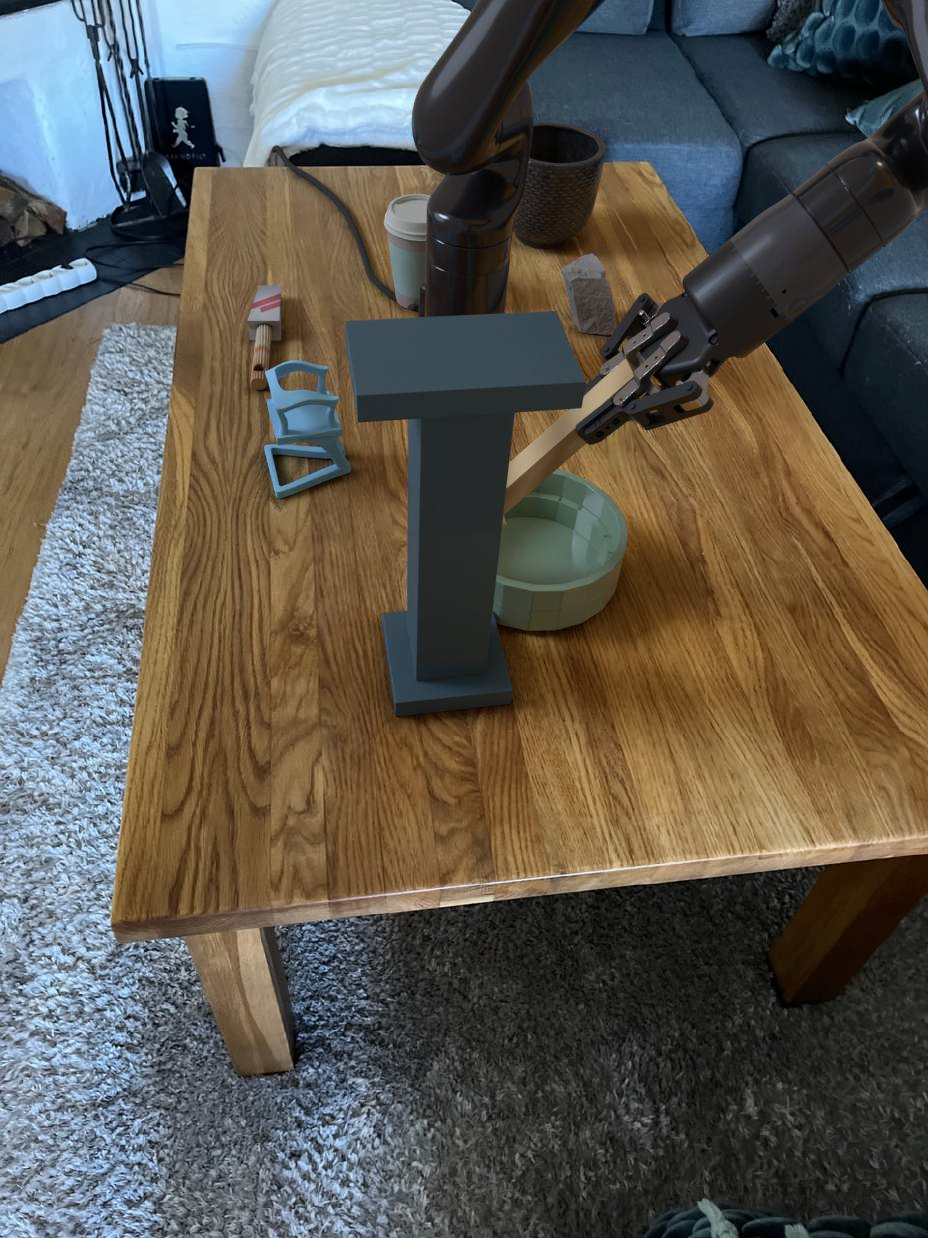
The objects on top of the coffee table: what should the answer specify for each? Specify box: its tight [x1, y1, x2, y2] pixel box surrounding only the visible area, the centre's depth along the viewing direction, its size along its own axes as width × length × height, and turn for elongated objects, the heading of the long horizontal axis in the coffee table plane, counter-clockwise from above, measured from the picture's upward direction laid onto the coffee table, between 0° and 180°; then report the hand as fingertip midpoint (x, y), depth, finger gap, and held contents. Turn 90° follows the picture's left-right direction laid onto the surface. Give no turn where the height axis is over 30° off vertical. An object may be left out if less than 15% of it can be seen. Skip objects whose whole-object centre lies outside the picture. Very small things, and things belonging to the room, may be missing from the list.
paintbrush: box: [246, 284, 282, 391], centre depth 113 cm, size 4×3×20 cm
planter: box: [512, 121, 606, 250], centre depth 129 cm, size 14×14×13 cm
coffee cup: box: [383, 193, 431, 311], centre depth 117 cm, size 8×9×12 cm
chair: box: [263, 359, 352, 499], centre depth 94 cm, size 8×8×12 cm
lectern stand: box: [344, 310, 587, 717], centre depth 71 cm, size 14×10×32 cm
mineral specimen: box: [560, 252, 618, 336], centre depth 117 cm, size 7×9×8 cm
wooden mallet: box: [502, 359, 647, 529], centre depth 78 cm, size 22×5×2 cm
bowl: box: [493, 468, 629, 632], centre depth 89 cm, size 17×17×6 cm
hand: (578, 424), depth 75 cm, fingers closed on wooden mallet, 2 cm apart
